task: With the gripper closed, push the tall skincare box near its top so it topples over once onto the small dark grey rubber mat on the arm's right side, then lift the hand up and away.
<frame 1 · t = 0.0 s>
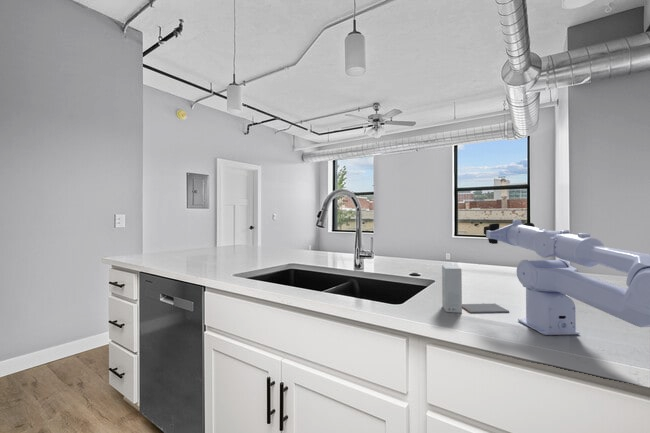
hand: (497, 230, 92), 22 cm above the worktop, tool horizontal, fingers open, 7 cm apart
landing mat: (483, 308, 87), on the worktop
skincare box: (451, 310, 87), on the worktop
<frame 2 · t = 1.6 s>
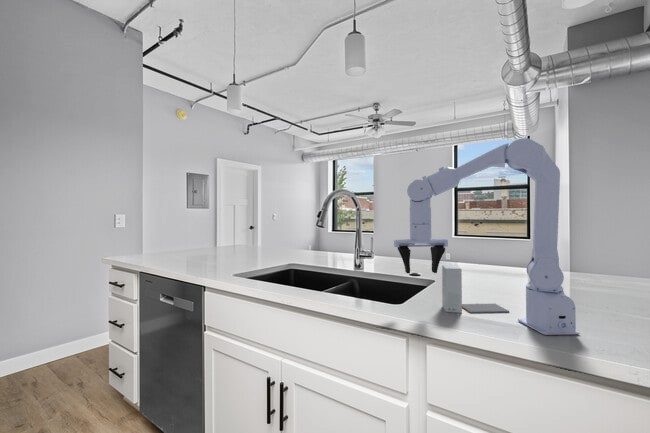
hand: (421, 272, 87), 10 cm above the worktop, tool pointing down, fingers open, 7 cm apart
nothing on the worktop moved.
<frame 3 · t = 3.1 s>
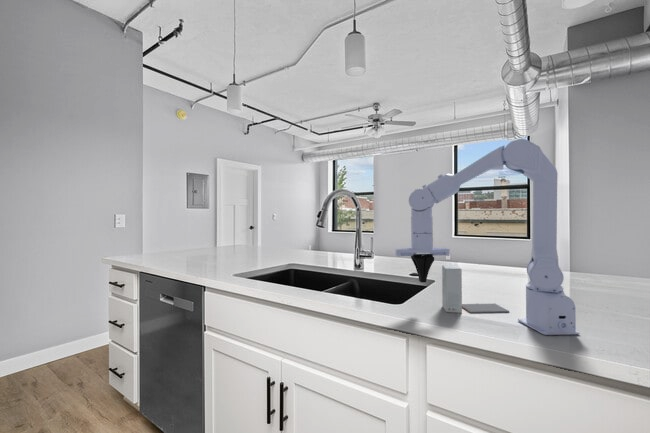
hand: (422, 281, 87), 8 cm above the worktop, tool pointing down, fingers closed
nothing on the worktop moved.
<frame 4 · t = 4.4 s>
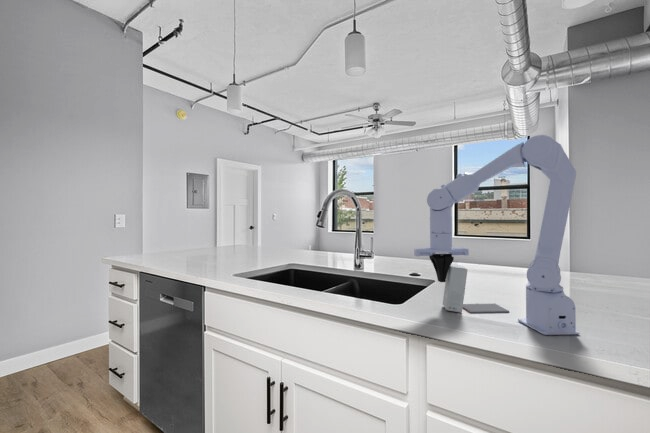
hand: (441, 281, 87), 8 cm above the worktop, tool pointing down, fingers closed
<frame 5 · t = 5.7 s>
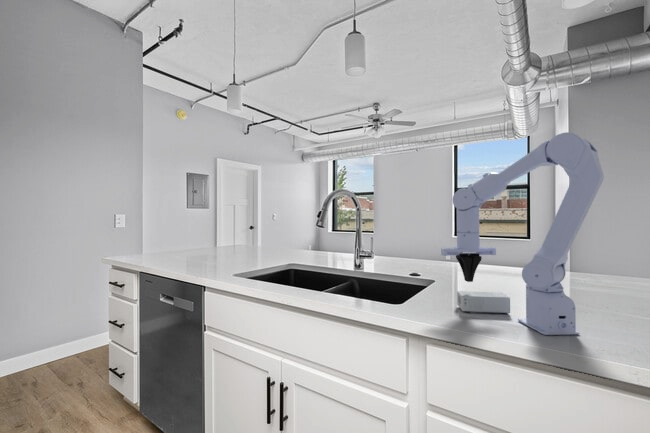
hand: (468, 281, 87), 8 cm above the worktop, tool pointing down, fingers closed
skincare box: (458, 300, 87), point 2 cm above the worktop, touching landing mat
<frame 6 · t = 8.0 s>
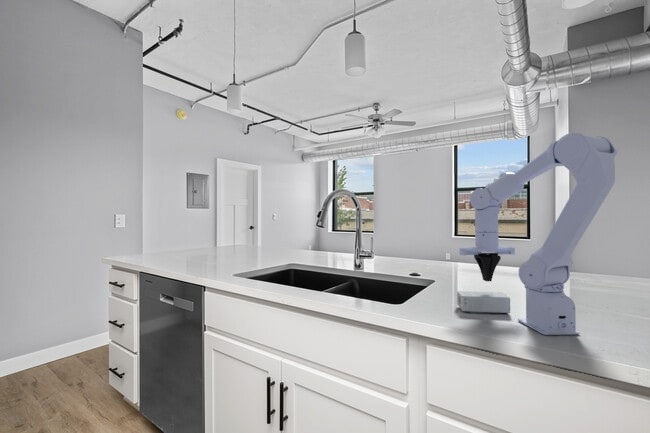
hand: (487, 280, 87), 8 cm above the worktop, tool pointing down, fingers closed
nothing on the worktop moved.
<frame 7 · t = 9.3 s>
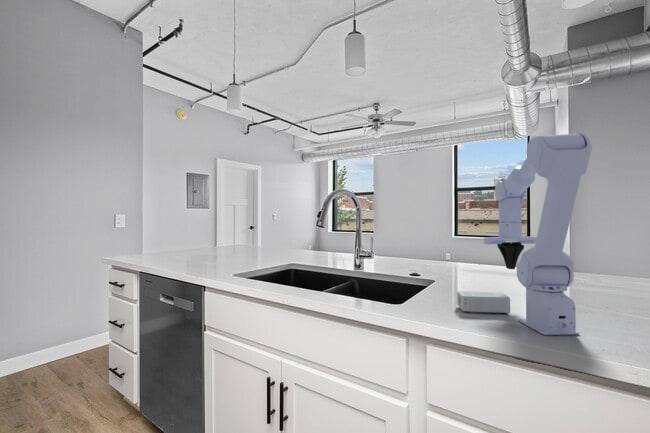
hand: (510, 268, 91), 10 cm above the worktop, tool pointing down, fingers closed
nothing on the worktop moved.
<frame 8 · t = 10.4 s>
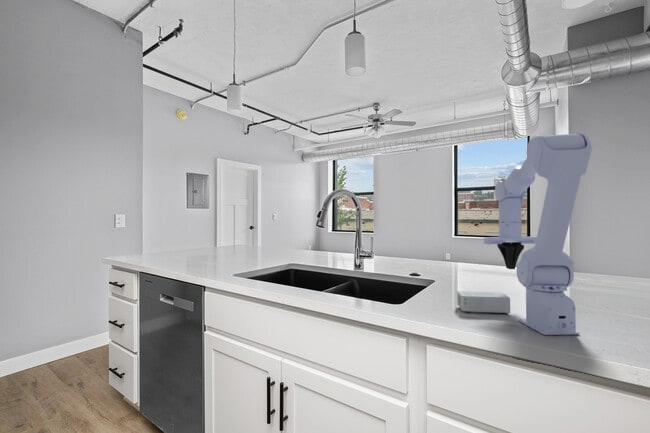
hand: (510, 268, 91), 10 cm above the worktop, tool pointing down, fingers closed
nothing on the worktop moved.
at the end: skincare box tilted 90°; skincare box touching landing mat; skincare box inside the target area (4.8 cm from its centre), point 2.5 cm above the worktop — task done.
